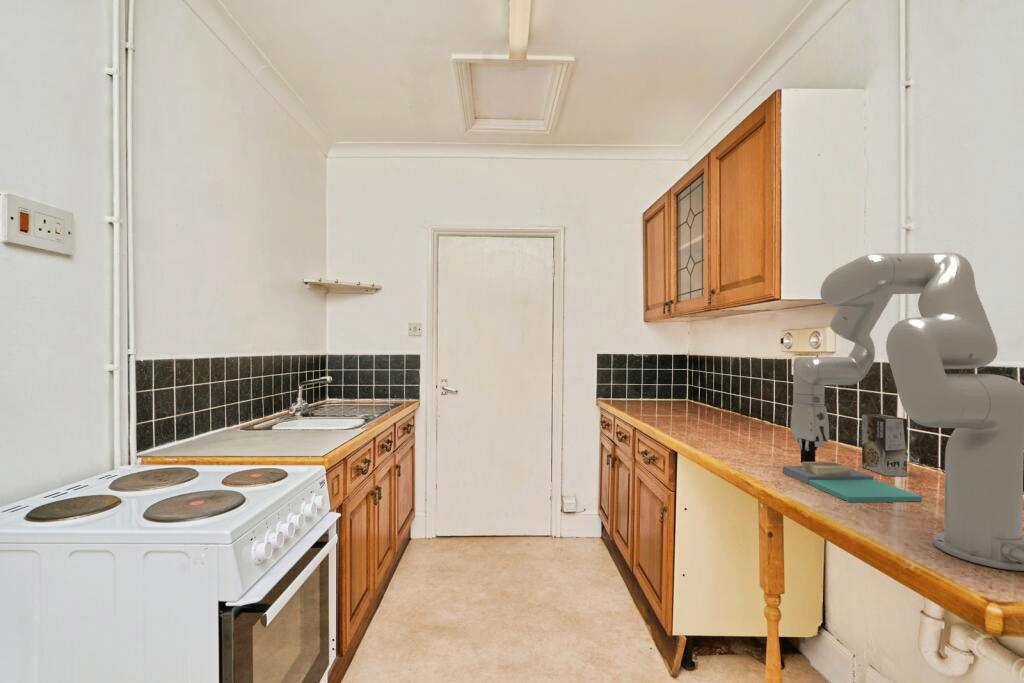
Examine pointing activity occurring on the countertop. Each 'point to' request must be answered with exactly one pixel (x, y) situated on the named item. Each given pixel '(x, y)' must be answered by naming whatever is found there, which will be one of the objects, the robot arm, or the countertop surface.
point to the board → (806, 476)
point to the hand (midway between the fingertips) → (807, 463)
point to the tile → (826, 468)
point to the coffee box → (884, 444)
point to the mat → (864, 491)
